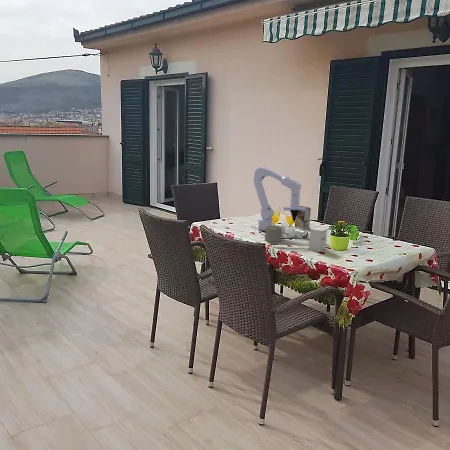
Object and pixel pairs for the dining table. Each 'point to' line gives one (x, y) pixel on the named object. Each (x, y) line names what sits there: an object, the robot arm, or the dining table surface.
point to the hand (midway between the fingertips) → (293, 221)
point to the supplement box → (317, 239)
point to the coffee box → (303, 218)
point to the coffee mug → (273, 234)
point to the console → (297, 235)
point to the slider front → (292, 233)
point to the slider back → (283, 228)
